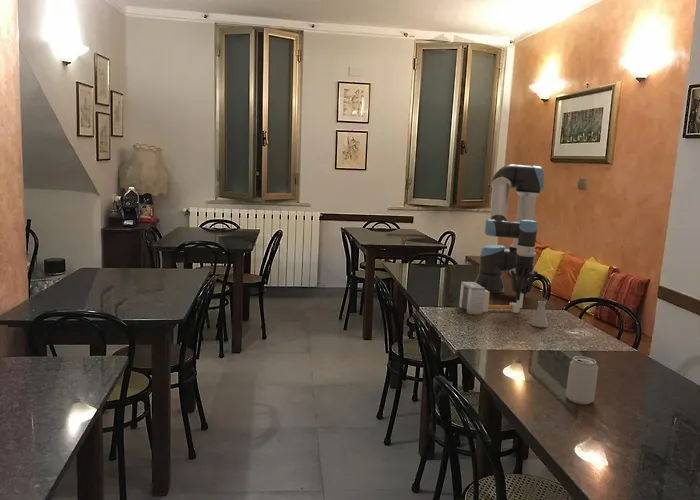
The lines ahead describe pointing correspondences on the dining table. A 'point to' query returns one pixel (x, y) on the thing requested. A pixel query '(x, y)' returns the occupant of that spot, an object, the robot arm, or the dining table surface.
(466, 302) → the housing
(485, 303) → the white and wooden mallet
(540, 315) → the flask
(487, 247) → the robot arm
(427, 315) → the dining table surface
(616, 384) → the dining table surface
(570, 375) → the can
